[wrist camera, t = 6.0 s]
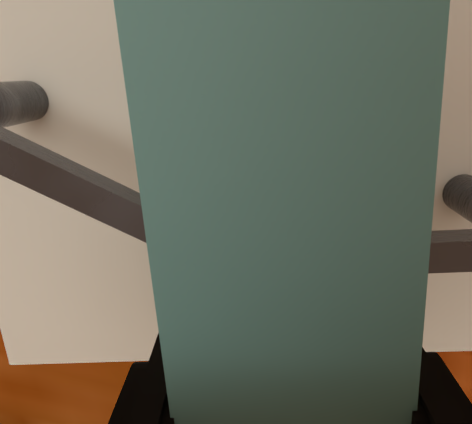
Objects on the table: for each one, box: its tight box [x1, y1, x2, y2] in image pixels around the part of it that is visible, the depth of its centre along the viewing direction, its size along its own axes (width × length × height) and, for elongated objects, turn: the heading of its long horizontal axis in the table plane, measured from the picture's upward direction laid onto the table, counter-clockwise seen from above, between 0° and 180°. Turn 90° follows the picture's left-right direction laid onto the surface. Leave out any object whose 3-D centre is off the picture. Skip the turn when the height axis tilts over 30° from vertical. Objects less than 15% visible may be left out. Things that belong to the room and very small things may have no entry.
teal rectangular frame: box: [113, 0, 450, 424], centre depth 15 cm, size 6×16×15 cm, turn 4°
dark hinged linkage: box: [0, 81, 472, 274], centre depth 19 cm, size 25×5×8 cm, turn 78°
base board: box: [0, 0, 472, 365], centre depth 24 cm, size 30×24×2 cm
